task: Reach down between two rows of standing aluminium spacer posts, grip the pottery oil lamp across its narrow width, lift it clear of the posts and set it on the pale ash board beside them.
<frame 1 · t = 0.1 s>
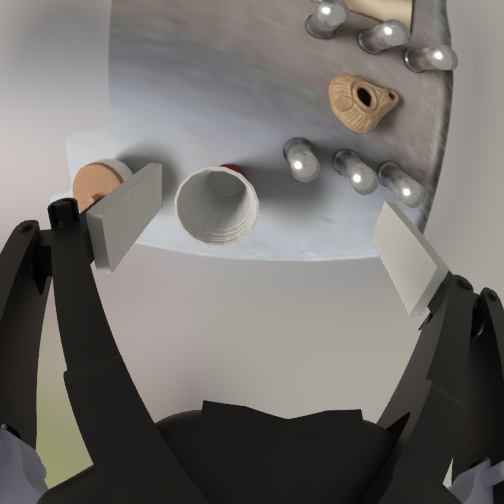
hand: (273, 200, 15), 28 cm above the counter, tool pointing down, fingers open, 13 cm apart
pottery oil lamp: (359, 100, 34), on the counter
plastic cup: (228, 179, 43), on the counter
lidded jar: (119, 179, 44), on the counter
spacer posts: (359, 100, 34), on the counter
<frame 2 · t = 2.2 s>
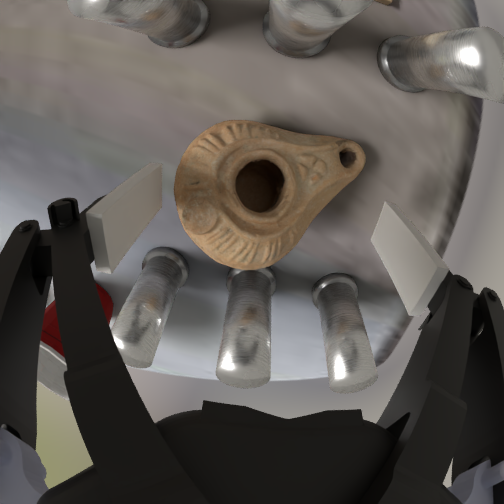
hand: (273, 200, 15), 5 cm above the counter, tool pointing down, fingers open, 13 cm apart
pottery oil lamp: (278, 166, 19), on the counter
plastic cup: (94, 294, 28), on the counter
spacer posts: (271, 168, 19), on the counter
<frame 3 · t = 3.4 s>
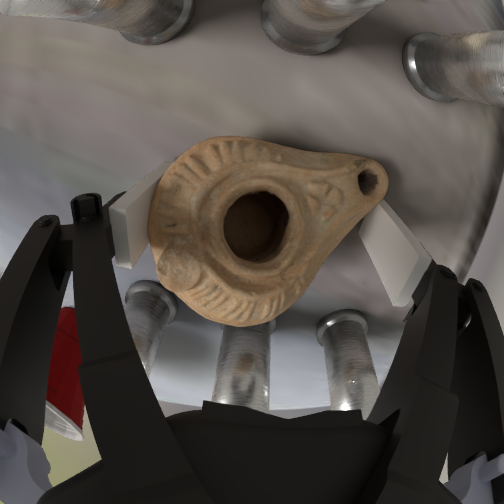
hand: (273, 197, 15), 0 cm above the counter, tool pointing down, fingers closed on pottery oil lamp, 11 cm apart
pottery oil lamp: (280, 191, 16), on the counter, touching gripper
plastic cup: (79, 322, 25), on the counter
spacer posts: (272, 193, 16), on the counter
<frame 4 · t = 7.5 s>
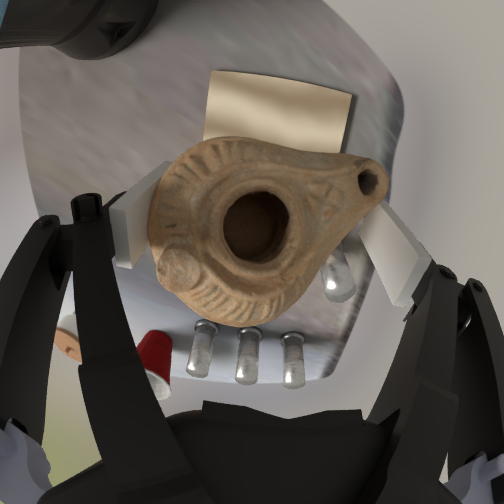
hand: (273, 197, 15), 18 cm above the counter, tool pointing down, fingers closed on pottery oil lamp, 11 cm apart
pottery oil lamp: (280, 191, 16), point 17 cm above the counter, touching gripper
ash board: (271, 142, 30), on the counter
plastic cup: (159, 337, 52), on the counter
lidded jar: (83, 322, 53), on the counter
spacer posts: (259, 292, 43), on the counter
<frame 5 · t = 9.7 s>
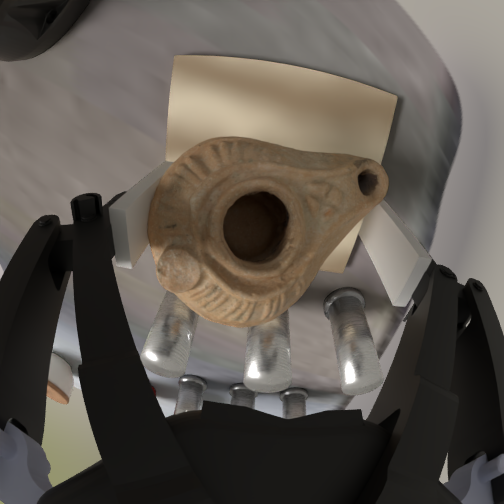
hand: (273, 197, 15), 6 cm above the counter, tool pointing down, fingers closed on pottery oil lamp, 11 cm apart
pottery oil lamp: (280, 191, 16), point 5 cm above the counter, touching gripper
ash board: (271, 167, 20), on the counter
lidded jar: (59, 360, 42), on the counter
spacer posts: (253, 353, 33), on the counter
when the fingers open (3 cm above the counter, at t = 11.4 s): pottery oil lamp drops 1 cm, resting on ash board.
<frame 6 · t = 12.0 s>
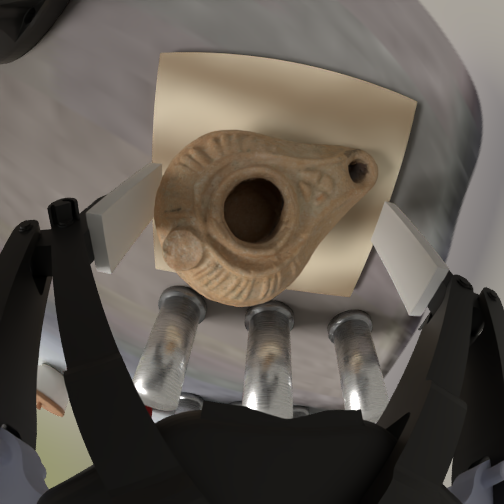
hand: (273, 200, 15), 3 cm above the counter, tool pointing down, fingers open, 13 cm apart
pottery oil lamp: (277, 182, 17), point 1 cm above the counter, touching ash board
ash board: (273, 182, 18), on the counter
lidded jar: (54, 372, 40), on the counter
spacer posts: (252, 374, 30), on the counter
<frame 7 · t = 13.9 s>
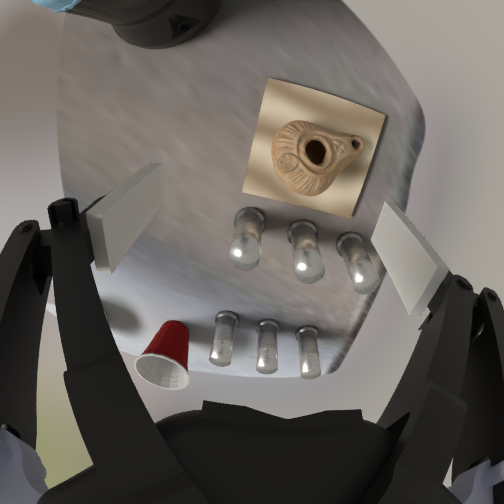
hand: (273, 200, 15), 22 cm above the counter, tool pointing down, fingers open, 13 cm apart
pottery oil lamp: (317, 148, 33), point 1 cm above the counter, touching ash board
ash board: (313, 149, 34), on the counter
plastic cup: (176, 328, 54), on the counter
spacer posts: (283, 286, 46), on the counter
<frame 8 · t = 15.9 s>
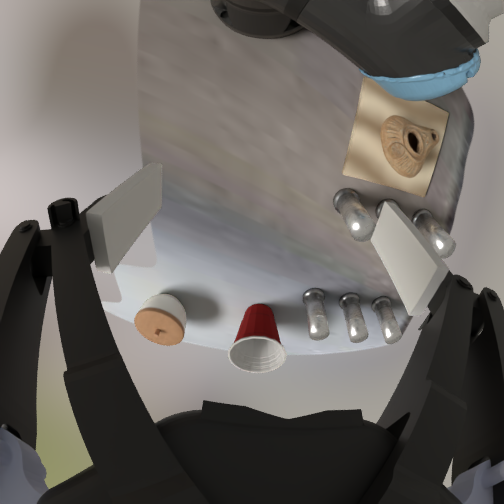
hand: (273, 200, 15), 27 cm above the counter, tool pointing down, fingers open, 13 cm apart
pottery oil lamp: (403, 139, 35), point 1 cm above the counter, touching ash board
ash board: (398, 139, 36), on the counter
plastic cup: (259, 311, 57), on the counter
lidded jar: (168, 303, 58), on the counter
spacer posts: (367, 259, 48), on the counter
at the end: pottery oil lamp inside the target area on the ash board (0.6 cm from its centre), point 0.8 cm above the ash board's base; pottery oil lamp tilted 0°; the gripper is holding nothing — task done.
